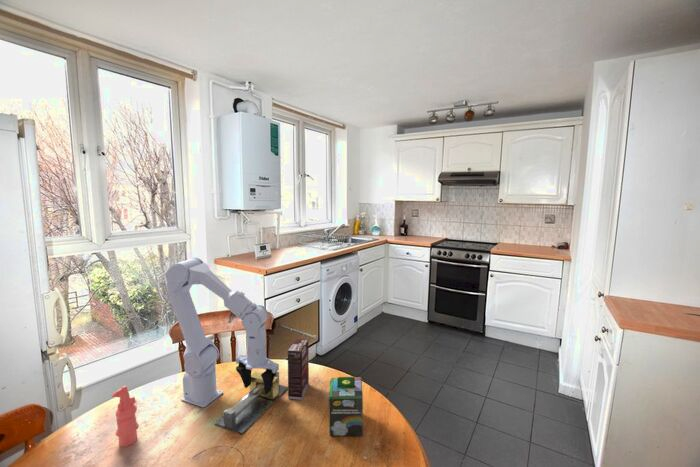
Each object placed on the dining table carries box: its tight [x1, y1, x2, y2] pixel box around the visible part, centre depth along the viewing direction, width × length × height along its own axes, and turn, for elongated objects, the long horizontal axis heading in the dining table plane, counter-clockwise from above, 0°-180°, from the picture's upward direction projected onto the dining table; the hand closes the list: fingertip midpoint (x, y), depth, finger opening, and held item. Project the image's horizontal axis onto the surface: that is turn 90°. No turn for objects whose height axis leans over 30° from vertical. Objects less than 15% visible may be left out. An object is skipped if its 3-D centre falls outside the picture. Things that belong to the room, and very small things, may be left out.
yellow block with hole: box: [249, 371, 280, 399], centre depth 100 cm, size 3×9×6 cm, turn 68°
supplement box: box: [287, 338, 310, 401], centre depth 102 cm, size 9×5×16 cm, turn 173°
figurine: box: [111, 385, 140, 448], centre depth 81 cm, size 5×5×15 cm
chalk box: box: [328, 376, 364, 437], centre depth 87 cm, size 9×9×15 cm
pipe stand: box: [214, 371, 288, 435], centre depth 96 cm, size 22×10×5 cm, turn 158°
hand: (257, 388), depth 97 cm, fingers open, 7 cm apart
